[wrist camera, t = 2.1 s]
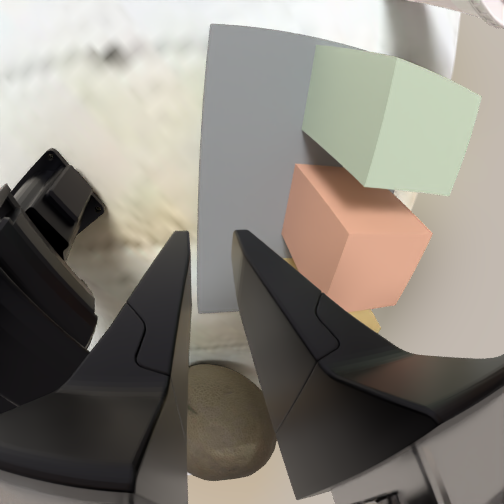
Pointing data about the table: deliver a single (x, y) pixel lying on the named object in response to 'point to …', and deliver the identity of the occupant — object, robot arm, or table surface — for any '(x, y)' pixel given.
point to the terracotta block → (351, 237)
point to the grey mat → (250, 146)
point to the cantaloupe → (226, 424)
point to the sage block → (389, 119)
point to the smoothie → (474, 9)
